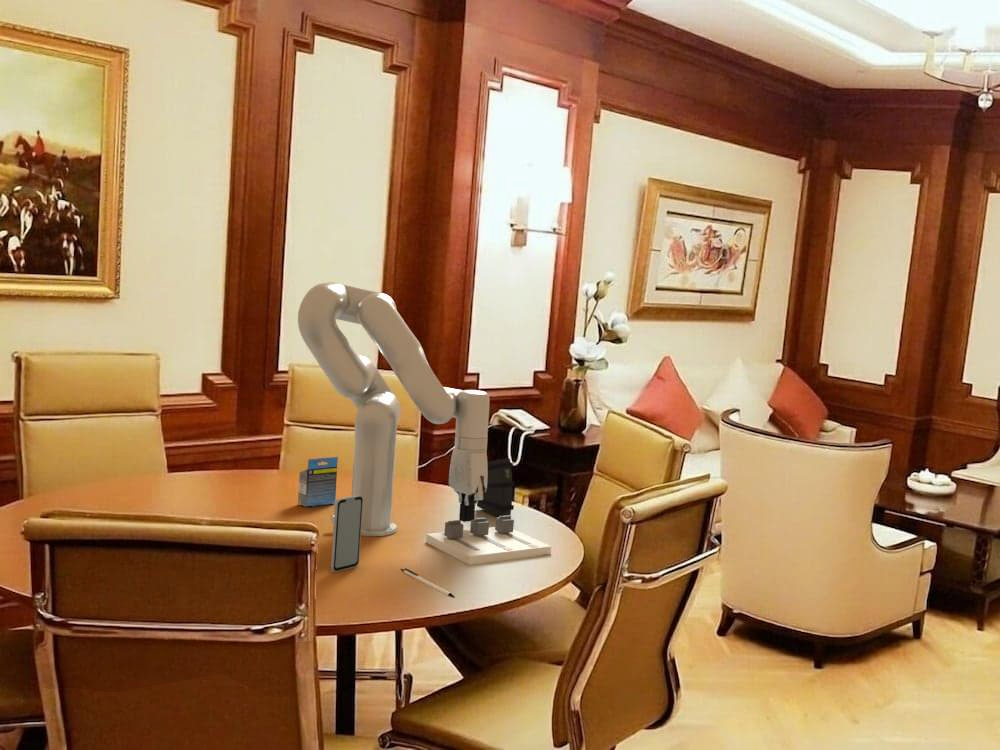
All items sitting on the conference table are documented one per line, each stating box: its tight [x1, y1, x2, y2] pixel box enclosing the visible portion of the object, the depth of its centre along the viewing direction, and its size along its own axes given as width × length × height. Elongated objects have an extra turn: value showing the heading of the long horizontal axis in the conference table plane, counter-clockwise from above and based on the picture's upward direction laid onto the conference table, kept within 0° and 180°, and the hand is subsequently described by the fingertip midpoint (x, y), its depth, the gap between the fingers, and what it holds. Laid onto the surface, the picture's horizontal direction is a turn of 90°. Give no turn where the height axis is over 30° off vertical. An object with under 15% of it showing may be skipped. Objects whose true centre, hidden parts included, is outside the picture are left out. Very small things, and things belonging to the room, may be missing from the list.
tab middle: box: [470, 517, 490, 536], centre depth 234 cm, size 3×3×4 cm
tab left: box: [443, 519, 464, 539], centre depth 230 cm, size 3×3×4 cm
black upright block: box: [476, 457, 516, 518], centre depth 262 cm, size 4×13×15 cm, turn 38°
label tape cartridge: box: [297, 456, 339, 508], centre depth 258 cm, size 9×4×12 cm, turn 132°
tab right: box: [494, 515, 515, 533], centre depth 238 cm, size 3×3×4 cm
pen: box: [400, 568, 456, 599], centre depth 203 cm, size 1×19×1 cm, turn 38°
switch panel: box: [425, 526, 552, 566], centre depth 231 cm, size 22×18×2 cm
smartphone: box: [330, 495, 363, 573], centre depth 207 cm, size 7×1×15 cm, turn 142°
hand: (466, 520), depth 239 cm, fingers closed
